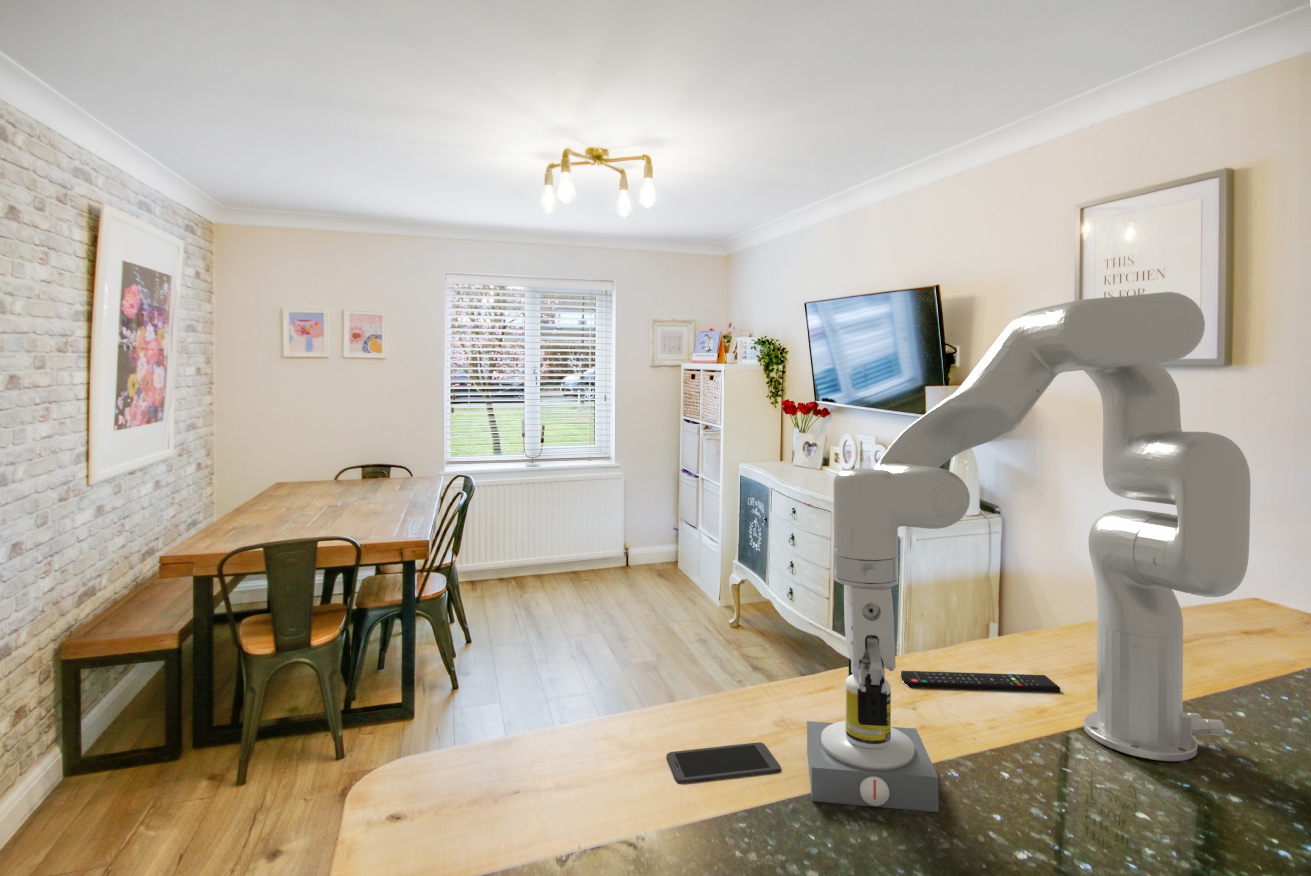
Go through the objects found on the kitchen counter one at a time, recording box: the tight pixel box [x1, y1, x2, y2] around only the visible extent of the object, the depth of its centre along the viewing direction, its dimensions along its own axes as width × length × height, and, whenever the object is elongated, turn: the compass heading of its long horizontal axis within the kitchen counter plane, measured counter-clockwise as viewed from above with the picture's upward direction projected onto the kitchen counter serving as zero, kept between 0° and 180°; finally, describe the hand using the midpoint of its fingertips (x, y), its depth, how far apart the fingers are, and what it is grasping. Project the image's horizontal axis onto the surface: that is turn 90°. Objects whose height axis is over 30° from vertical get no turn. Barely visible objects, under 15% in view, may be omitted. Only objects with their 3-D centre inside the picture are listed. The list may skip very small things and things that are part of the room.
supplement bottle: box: [844, 661, 892, 749], centre depth 82 cm, size 5×5×10 cm
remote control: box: [900, 670, 1061, 693], centre depth 110 cm, size 5×24×1 cm, turn 83°
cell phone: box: [666, 741, 782, 784], centre depth 86 cm, size 7×14×1 cm, turn 101°
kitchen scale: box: [806, 720, 940, 813], centre depth 81 cm, size 14×13×5 cm
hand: (866, 706), depth 81 cm, fingers open, 9 cm apart
